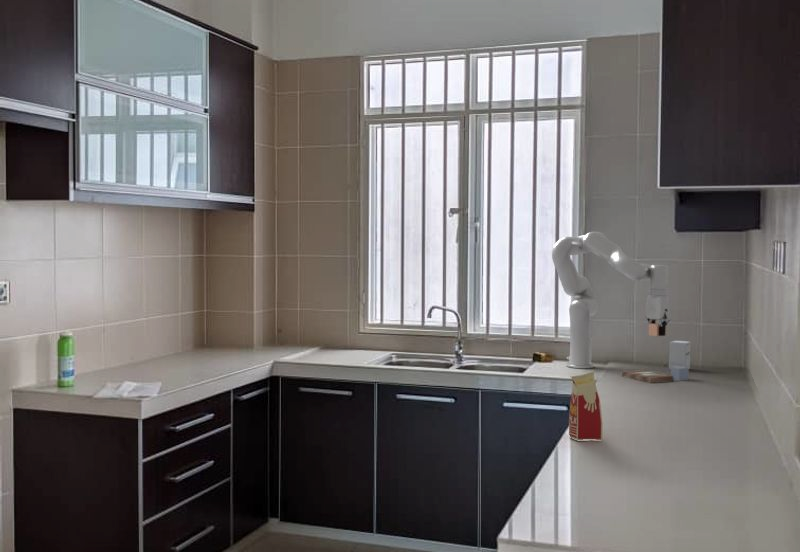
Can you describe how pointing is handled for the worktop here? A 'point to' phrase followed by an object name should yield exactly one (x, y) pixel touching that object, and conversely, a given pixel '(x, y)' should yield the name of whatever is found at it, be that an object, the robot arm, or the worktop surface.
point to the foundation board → (647, 376)
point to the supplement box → (679, 354)
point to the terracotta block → (655, 329)
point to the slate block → (680, 373)
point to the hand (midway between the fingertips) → (657, 334)
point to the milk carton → (585, 409)
